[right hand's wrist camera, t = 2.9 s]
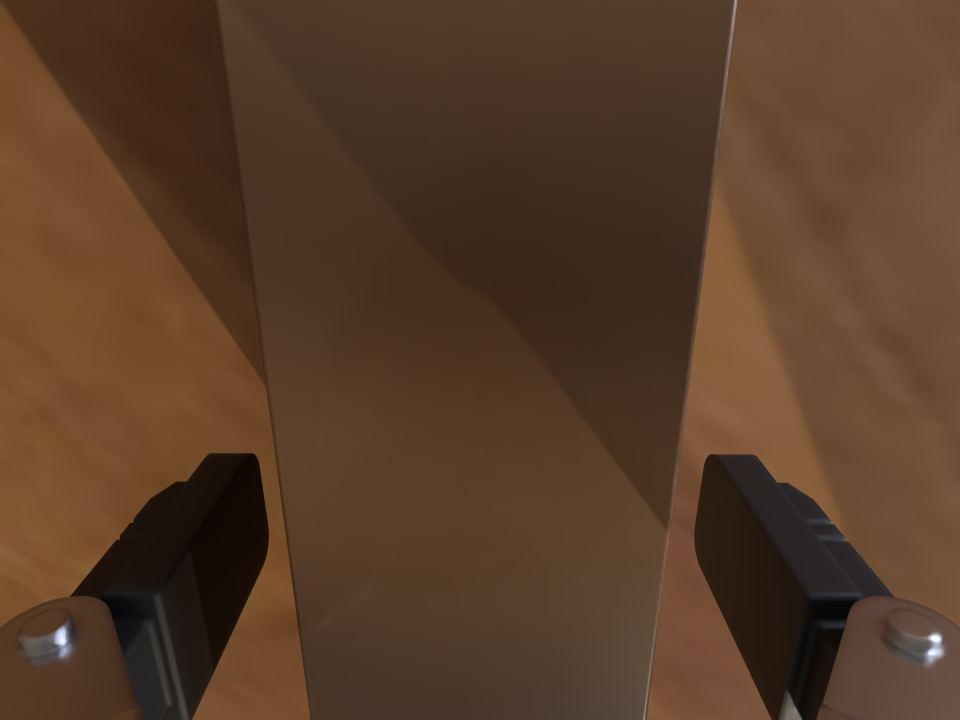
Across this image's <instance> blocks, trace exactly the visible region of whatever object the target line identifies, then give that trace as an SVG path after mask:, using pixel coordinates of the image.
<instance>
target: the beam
mask: <svg viewBox="0 0 960 720" xmlns="http://www.w3.org/2000/svg"><path fill="white" fill-rule="evenodd" d="M737 1H738V0H215V7H216V14H217V22H218V29H219V37H220V44H221V52H222V59H223V67H224V74H225V82H226V89H227V97H228V104H229V111H230V119H231V126H232V134H233V141H234V149H235V156H236V164H237V171H238V179H239V186H240V194H241V201H242V209H243V216H244V224H245V231H246V239H247V246H248V254H249V261H250V269H251V276H252V284H253V291H254V299H255V306H256V314H257V321H258V329H259V336H260V343H261V351H262V358H263V366H264V373H265V381H266V388H267V396H268V403H269V411H270V418H271V426H272V433H273V441H274V448H275V456H276V463H277V471H278V478H279V486H280V493H281V501H282V508H283V516H284V523H285V531H286V538H287V546H288V553H289V561H290V568H291V576H292V583H293V590H294V598H295V605H296V613H297V620H298V628H299V635H300V643H301V650H302V658H303V665H304V673H305V680H306V688H307V695H308V703H309V710H310V718H311V720H646V717H647V709H648V701H649V693H650V686H651V678H652V670H653V662H654V654H655V646H656V638H657V630H658V623H659V615H660V607H661V599H662V591H663V583H664V575H665V567H666V560H667V552H668V544H669V536H670V528H671V520H672V512H673V504H674V497H675V489H676V481H677V473H678V465H679V457H680V449H681V442H682V434H683V426H684V418H685V410H686V402H687V394H688V386H689V379H690V371H691V363H692V355H693V347H694V339H695V331H696V323H697V316H698V308H699V300H700V292H701V284H702V276H703V268H704V261H705V253H706V245H707V237H708V229H709V221H710V213H711V205H712V198H713V190H714V182H715V174H716V166H717V158H718V150H719V142H720V135H721V127H722V119H723V111H724V103H725V95H726V87H727V79H728V72H729V64H730V56H731V48H732V40H733V32H734V24H735V17H736V9H737Z"/></svg>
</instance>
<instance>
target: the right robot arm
mask: <svg viewBox="0 0 960 720" xmlns="http://www.w3.org/2000/svg"><path fill="white" fill-rule="evenodd" d="M694 536H695V550H696V555H697V559H698V563H699V565H700V568H701V570H702V572H703V574H704V576H705V578H706V580H707V583H708V585H709V587H710V589H711V591H712V593H713V595H714V598H715V600H716V602H717V604H718V606H719V608H720V610H721V612H722V615H723V617H724V619H725V621H726V623H727V625H728V627H729V630H730V632H731V634H732V636H733V638H734V640H735V642H736V644H737V647H738V649H739V651H740V653H741V655H742V657H743V659H744V661H745V664H746V666H747V668H748V670H749V672H750V674H751V676H752V679H753V681H754V683H755V685H756V687H757V689H758V691H759V693H760V696H761V698H762V700H763V702H764V704H765V706H766V708H767V711H768V713H769V715H770V717H771V719H772V720H960V628H959V627H958V626H957V625H956V624H954V623H953V622H951V621H950V620H949V619H947V618H946V617H944V616H942V615H941V614H939V613H937V612H935V611H934V610H932V609H930V608H928V607H925V606H923V605H920V604H918V603H915V602H912V601H909V600H905V599H901V598H896V597H894V596H893V595H892V594H891V593H890V591H889V590H888V589H887V588H886V587H885V585H884V584H883V583H882V582H881V580H880V579H879V578H878V577H877V576H876V574H875V573H874V572H873V571H872V570H871V568H870V567H869V566H868V565H867V564H866V562H865V561H864V560H863V559H862V558H861V556H860V555H859V554H858V553H857V552H856V550H855V549H854V548H853V547H852V546H851V544H850V543H849V542H845V537H844V536H843V535H842V533H841V532H840V531H839V530H838V529H837V527H836V526H835V525H834V524H831V520H830V519H829V518H828V517H827V515H826V514H825V513H824V512H823V511H822V509H821V508H820V507H819V506H818V505H817V503H816V502H815V501H814V500H813V499H811V498H810V497H808V496H807V495H805V494H804V493H802V492H801V491H799V490H798V489H796V488H795V487H793V486H791V485H790V484H788V483H777V482H776V481H775V479H774V478H773V477H772V475H771V474H770V473H769V471H768V470H767V469H766V468H765V466H764V465H763V464H762V462H761V461H760V460H759V459H758V457H757V456H755V455H752V454H711V455H709V456H708V457H707V459H706V461H705V464H704V469H703V476H702V483H701V490H700V497H699V503H698V510H697V517H696V524H695V535H694ZM268 542H269V529H268V521H267V514H266V507H265V500H264V493H263V486H262V479H261V472H260V466H259V462H258V459H257V457H256V455H255V454H252V453H211V454H208V455H207V456H206V457H205V458H204V460H203V461H202V462H201V464H200V465H199V466H198V468H197V469H196V470H195V472H194V473H193V474H192V475H191V477H190V478H189V479H188V481H187V482H175V483H174V484H172V485H171V486H169V487H168V488H166V489H165V490H163V491H161V492H160V493H158V494H157V495H155V496H154V497H152V498H151V499H150V500H149V501H148V502H147V503H146V505H145V506H144V507H143V508H142V509H141V511H140V512H139V513H138V514H137V516H136V517H135V518H134V522H133V523H130V524H129V525H128V527H127V528H126V529H125V530H124V531H123V533H122V534H121V535H120V540H116V541H115V542H114V544H113V545H112V546H111V547H110V548H109V550H108V551H107V552H106V553H105V555H104V556H103V557H102V558H101V559H100V561H99V562H98V563H97V564H96V565H95V567H94V568H93V569H92V570H91V572H90V573H89V574H88V575H87V576H86V578H85V579H84V580H83V581H82V583H81V584H80V585H79V586H78V587H77V589H76V590H75V591H74V592H73V593H72V595H71V596H70V597H64V598H59V599H55V600H51V601H48V602H45V603H42V604H40V605H37V606H35V607H32V608H30V609H28V610H26V611H25V612H23V613H21V614H19V615H18V616H16V617H14V618H13V619H11V620H10V621H9V622H7V623H6V624H4V625H3V626H2V627H1V628H0V720H192V718H193V716H194V714H195V712H196V710H197V707H198V705H199V703H200V701H201V699H202V697H203V694H204V692H205V690H206V688H207V686H208V684H209V682H210V679H211V677H212V675H213V673H214V671H215V669H216V666H217V664H218V662H219V660H220V658H221V656H222V653H223V651H224V649H225V647H226V645H227V643H228V641H229V638H230V636H231V634H232V632H233V630H234V628H235V625H236V623H237V621H238V619H239V617H240V615H241V612H242V610H243V608H244V606H245V604H246V602H247V599H248V597H249V595H250V593H251V591H252V589H253V587H254V584H255V582H256V580H257V578H258V576H259V574H260V571H261V569H262V567H263V565H264V562H265V559H266V555H267V550H268Z"/></svg>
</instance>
